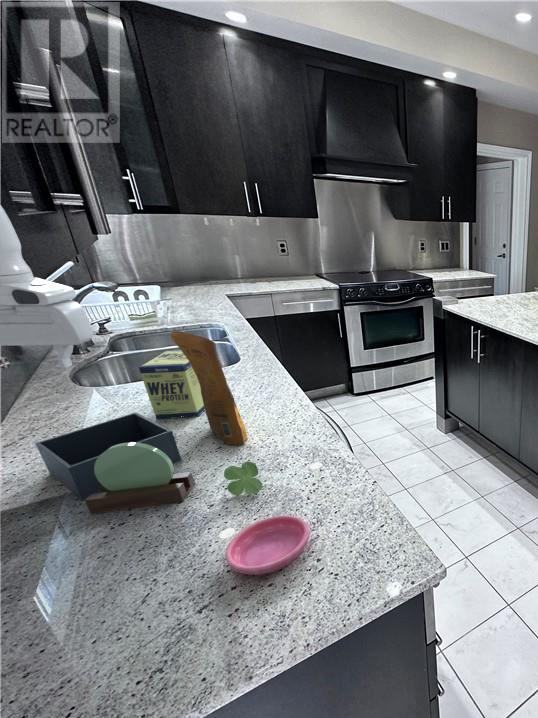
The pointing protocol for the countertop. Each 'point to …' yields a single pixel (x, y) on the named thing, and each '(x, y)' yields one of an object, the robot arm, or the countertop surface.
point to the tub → (100, 449)
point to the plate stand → (141, 495)
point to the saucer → (267, 545)
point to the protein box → (172, 385)
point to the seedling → (243, 479)
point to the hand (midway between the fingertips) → (33, 367)
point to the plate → (133, 467)
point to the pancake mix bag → (213, 387)
